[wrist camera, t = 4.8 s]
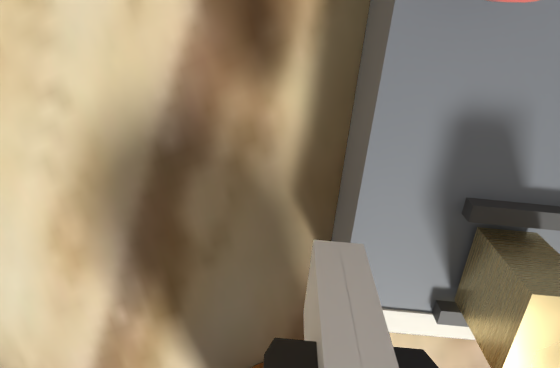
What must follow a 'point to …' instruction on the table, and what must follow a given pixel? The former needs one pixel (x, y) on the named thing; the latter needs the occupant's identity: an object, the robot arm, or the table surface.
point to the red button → (512, 0)
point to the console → (449, 146)
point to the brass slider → (512, 298)
